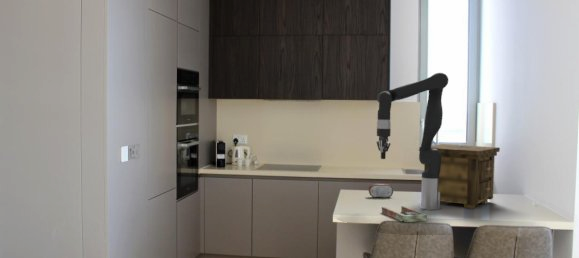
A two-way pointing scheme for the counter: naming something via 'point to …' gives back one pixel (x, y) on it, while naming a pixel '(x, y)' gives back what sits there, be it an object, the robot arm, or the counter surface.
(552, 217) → the counter surface
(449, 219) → the counter surface
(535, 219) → the counter surface
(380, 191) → the tin
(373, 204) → the counter surface
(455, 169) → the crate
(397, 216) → the track
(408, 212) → the block
